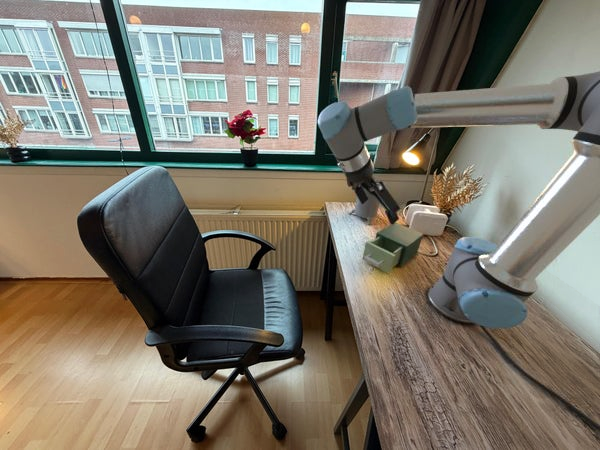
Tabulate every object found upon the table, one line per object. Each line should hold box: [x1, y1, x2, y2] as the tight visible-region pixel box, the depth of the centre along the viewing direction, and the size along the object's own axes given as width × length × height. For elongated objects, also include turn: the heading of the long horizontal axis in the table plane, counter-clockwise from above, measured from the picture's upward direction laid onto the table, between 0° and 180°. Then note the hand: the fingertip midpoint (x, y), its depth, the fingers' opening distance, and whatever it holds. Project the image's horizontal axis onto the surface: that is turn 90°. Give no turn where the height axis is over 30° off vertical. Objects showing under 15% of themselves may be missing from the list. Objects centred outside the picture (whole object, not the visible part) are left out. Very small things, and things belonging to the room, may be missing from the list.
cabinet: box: [374, 222, 425, 268], centre depth 100 cm, size 15×13×10 cm
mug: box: [349, 178, 387, 225], centre depth 126 cm, size 19×15×25 cm
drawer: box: [362, 236, 405, 275], centre depth 93 cm, size 18×11×8 cm, turn 133°
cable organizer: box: [404, 203, 449, 237], centre depth 118 cm, size 15×11×12 cm
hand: (378, 210), depth 77 cm, fingers open, 13 cm apart
